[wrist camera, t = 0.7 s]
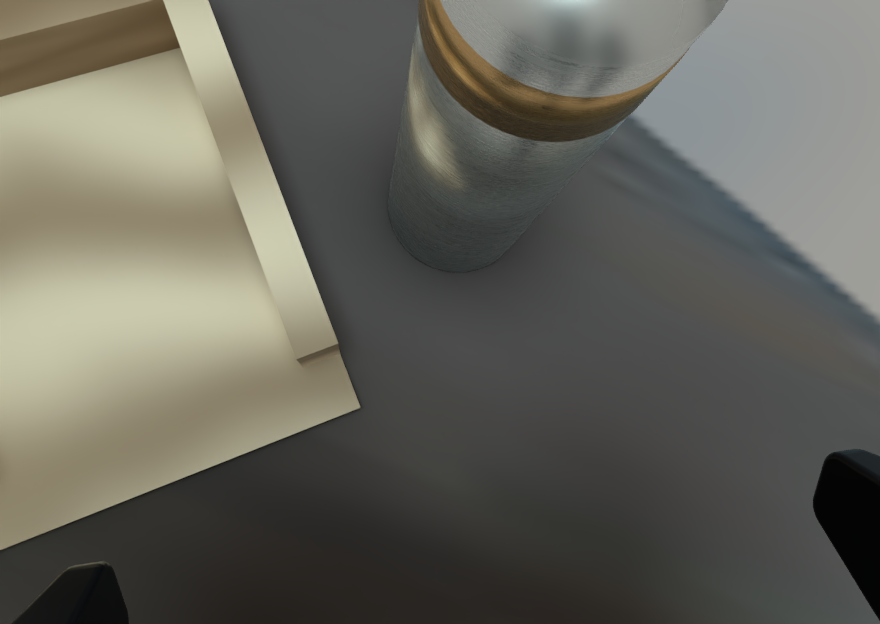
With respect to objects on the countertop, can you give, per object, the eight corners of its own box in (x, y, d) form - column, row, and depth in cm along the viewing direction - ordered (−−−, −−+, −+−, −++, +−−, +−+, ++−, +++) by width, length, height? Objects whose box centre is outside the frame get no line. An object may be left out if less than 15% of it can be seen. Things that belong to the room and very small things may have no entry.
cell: (544, 241, 22) (825, -22, 9) (422, 294, 22) (535, 87, 8) (487, 123, 23) (674, -293, 10) (364, 169, 22) (385, -216, 9)
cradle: (360, 407, 21) (362, 405, 18) (-19, 557, 19) (-88, 582, 16) (193, -33, 22) (169, -101, 19) (-171, 60, 20) (-259, -2, 17)
